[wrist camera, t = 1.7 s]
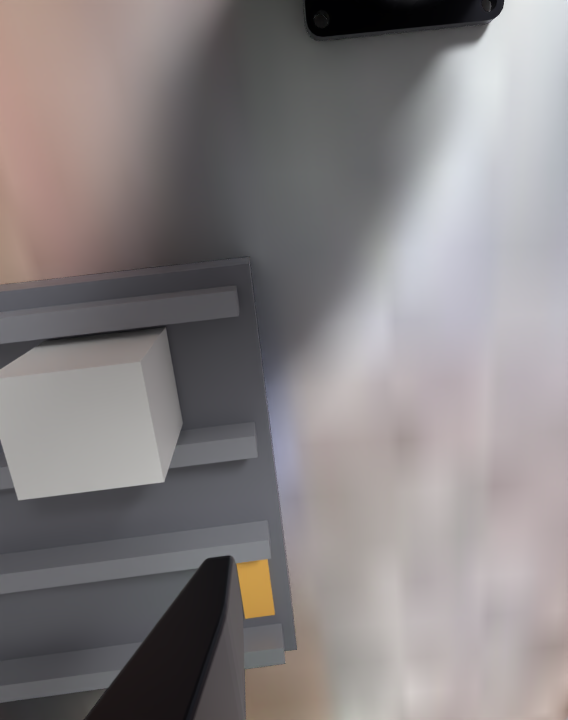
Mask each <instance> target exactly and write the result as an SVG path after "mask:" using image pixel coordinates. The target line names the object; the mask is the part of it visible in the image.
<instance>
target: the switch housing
mask: <svg viewBox="0 0 568 720" xmlns="http://www.w3.org/2000/svg"><path fill="white" fill-rule="evenodd" d="M162 327H166V331H167V337H168V343H169V348H170V354H171V360H172V365H173V371H174V376H175V382H176V388H177V393H178V399H179V404H180V410H181V416H182V421H183V425H182V428H181V431H180V434H179V437H178V440H177V444H176V447H175V450H174V453H173V456H172V459H171V462H170V466H169V469H168V472H167V475H166V478H165V481H164V482H161V483H153V484H145V485H138V486H130V487H122V488H114V489H106V490H98V491H90V492H82V493H74V494H66V495H58V496H50V497H42V498H34V499H26V500H18V498H17V494H16V491H15V488H14V484H13V481H12V478H11V474H10V471H9V467H8V464H7V461H6V457H5V454H4V450H3V447H2V444H1V440H0V703H2V702H9V701H17V700H24V699H31V698H39V697H46V696H53V695H60V694H68V693H75V692H82V691H90V690H97V689H104V688H108V687H109V686H110V684H111V683H112V682H113V680H114V679H115V678H116V676H117V675H118V674H119V672H120V671H121V670H122V669H123V667H124V666H125V665H126V663H127V662H128V661H129V659H130V658H131V657H132V655H133V654H134V653H135V651H136V650H137V649H138V647H139V646H140V645H141V643H142V642H143V641H144V639H145V638H146V637H147V635H148V634H149V633H150V631H151V630H152V629H153V627H154V626H155V625H156V623H157V622H158V621H159V619H160V618H161V617H162V615H163V614H164V613H165V611H166V610H167V609H168V607H169V606H170V605H171V603H172V602H173V601H174V599H175V598H176V597H177V596H178V594H179V593H180V592H181V590H182V589H183V588H184V586H185V585H186V584H187V582H188V581H189V580H190V578H191V577H192V576H193V574H194V573H195V572H196V570H197V569H198V568H199V566H200V565H201V564H202V562H203V561H204V560H205V559H207V558H211V557H218V556H226V555H231V556H233V558H234V559H235V563H236V569H237V575H238V581H239V588H240V594H241V600H242V609H243V633H244V668H245V669H250V668H258V667H265V666H272V665H279V664H285V653H284V651H289V650H297V645H296V636H295V626H294V616H293V607H292V598H291V590H290V582H289V574H288V566H287V558H286V550H285V542H284V534H283V525H282V517H281V509H280V501H279V493H278V485H277V477H276V469H275V461H274V453H273V444H272V436H271V428H270V420H269V412H268V404H267V396H266V388H265V380H264V372H263V363H262V355H261V347H260V339H259V331H258V323H257V315H256V307H255V299H254V291H253V283H252V274H251V266H250V258H249V257H242V258H233V259H224V260H215V261H206V262H197V263H189V264H180V265H171V266H162V267H153V268H144V269H135V270H127V271H118V272H109V273H100V274H91V275H82V276H74V277H65V278H56V279H47V280H38V281H29V282H20V283H12V284H3V285H0V369H2V368H3V367H5V366H6V365H8V364H9V363H11V362H13V361H14V360H16V359H17V358H19V357H20V356H22V355H24V354H25V353H27V352H28V351H30V350H31V349H33V348H35V347H36V346H38V345H39V344H41V343H42V342H44V341H50V340H59V339H68V338H76V337H85V336H93V335H102V334H110V333H119V332H128V331H136V330H145V329H153V328H162Z"/></svg>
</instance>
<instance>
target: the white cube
mask: <svg viewBox="0 0 568 720" xmlns="http://www.w3.org/2000/svg"><path fill="white" fill-rule="evenodd" d="M182 425H183V421H182V416H181V410H180V404H179V399H178V393H177V388H176V382H175V376H174V371H173V365H172V360H171V354H170V348H169V343H168V337H167V331H166V327H162V328H153V329H145V330H136V331H128V332H119V333H110V334H102V335H93V336H85V337H76V338H68V339H59V340H50V341H44V342H42V343H41V344H39V345H38V346H36V347H35V348H33V349H31V350H30V351H28V352H27V353H25V354H24V355H22V356H20V357H19V358H17V359H16V360H14V361H13V362H11V363H9V364H8V365H6V366H5V367H3V368H2V369H0V440H1V444H2V447H3V450H4V454H5V457H6V461H7V464H8V467H9V471H10V474H11V478H12V481H13V484H14V488H15V491H16V494H17V498H18V500H26V499H34V498H42V497H50V496H58V495H66V494H74V493H82V492H90V491H98V490H106V489H114V488H122V487H130V486H138V485H145V484H153V483H161V482H164V481H165V478H166V475H167V472H168V469H169V466H170V462H171V459H172V456H173V453H174V450H175V447H176V444H177V440H178V437H179V434H180V431H181V428H182Z"/></svg>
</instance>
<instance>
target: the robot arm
mask: <svg viewBox="0 0 568 720" xmlns="http://www.w3.org/2000/svg"><path fill="white" fill-rule="evenodd" d="M489 1H490V2H491V11H490V12H488V11H485V10H484V9H483V8H482V4H481V3H482V0H303V8H304V20H305V27H306V31H307V33H308V34H309V36H310V37H311V38H313V39H314V40H319V41H325V40H334V39H344V38H354V37H364V36H374V35H384V34H394V33H404V32H414V31H424V30H434V29H444V28H453V27H463V26H473V25H483V24H487V23H489V22H491V21H492V20H493V19H494V18H496V17H497V16H498V15H499V14H500V12H501V11H502V9H503V5H504V0H489ZM317 15H323V16H324V17H325V18H326V19H327V22H328V25H327V26H326V27H325V28H318V27H317V26H316V25H315V23H314V17H315V16H317ZM84 720H246V703H245V668H244V633H243V609H242V600H241V594H240V588H239V581H238V575H237V569H236V563H235V559H234V558H233V556H231V555H226V556H218V557H211V558H207V559H205V560H204V561H203V562H202V564H201V565H200V566H199V568H198V569H197V570H196V572H195V573H194V574H193V576H192V577H191V578H190V580H189V581H188V582H187V584H186V585H185V586H184V588H183V589H182V590H181V592H180V593H179V594H178V596H177V597H176V598H175V599H174V601H173V602H172V603H171V605H170V606H169V607H168V609H167V610H166V611H165V613H164V614H163V615H162V617H161V618H160V619H159V621H158V622H157V623H156V625H155V626H154V627H153V629H152V630H151V631H150V633H149V634H148V635H147V637H146V638H145V639H144V641H143V642H142V643H141V645H140V646H139V647H138V649H137V650H136V651H135V653H134V654H133V655H132V657H131V658H130V659H129V661H128V662H127V663H126V665H125V666H124V667H123V669H122V670H121V671H120V672H119V674H118V675H117V676H116V678H115V679H114V680H113V682H112V683H111V684H110V686H109V687H108V688H107V690H106V691H105V692H104V694H103V695H102V696H101V698H100V699H99V700H98V702H97V703H96V704H95V706H94V707H93V708H92V710H91V711H90V712H89V714H88V715H87V716H86V718H85V719H84Z"/></svg>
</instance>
